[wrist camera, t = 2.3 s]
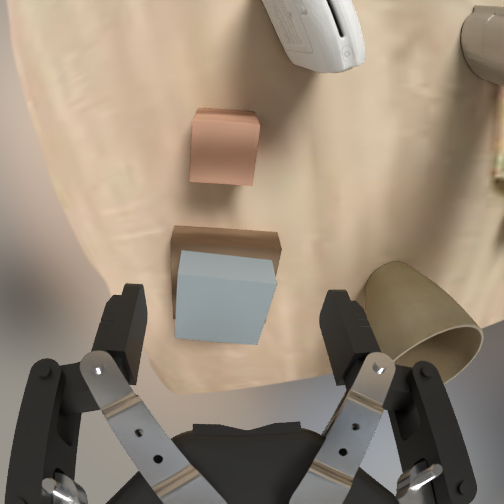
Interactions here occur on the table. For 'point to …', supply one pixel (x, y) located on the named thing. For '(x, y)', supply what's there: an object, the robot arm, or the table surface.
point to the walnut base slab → (222, 246)
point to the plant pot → (419, 321)
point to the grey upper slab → (223, 297)
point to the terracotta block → (224, 146)
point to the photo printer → (318, 33)
